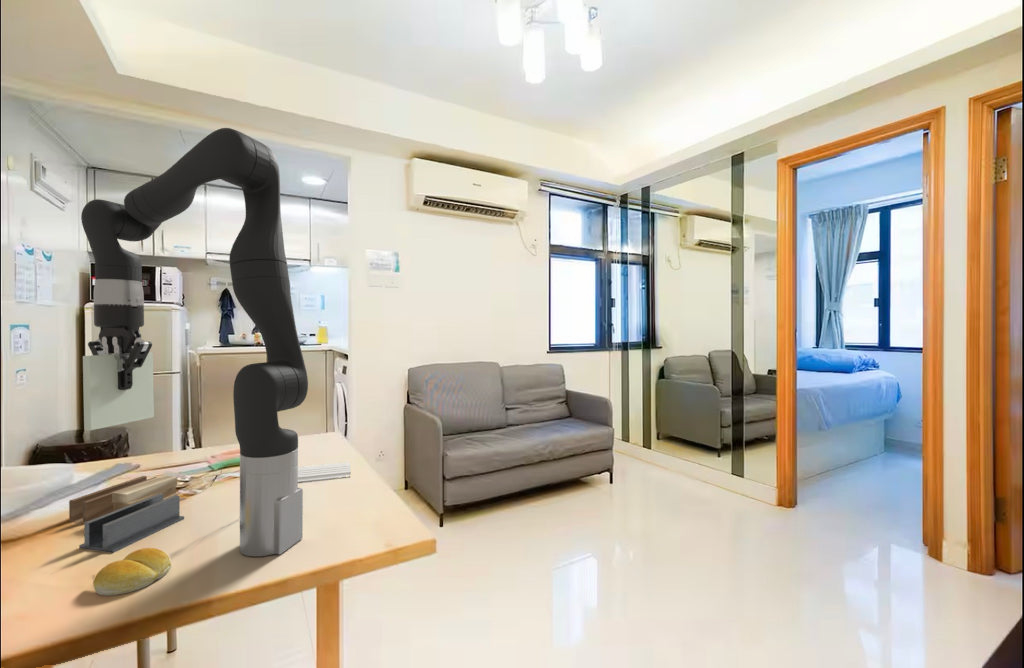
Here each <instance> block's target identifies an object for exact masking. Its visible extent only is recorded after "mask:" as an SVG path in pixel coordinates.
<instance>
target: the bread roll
mask: <svg viewBox="0 0 1024 668" xmlns="http://www.w3.org/2000/svg"><path fill="white" fill-rule="evenodd" d="M171 568H172V562H171V559H170V557H169V555H168V554H167V553H166V552H165V551H164V550H162V549H158V548H155V547H150V548H149V547H146V548H140V549H137V550H135V551H132V552H129V554H128V555H126V556H125V557H124V558H123V559H121V560H116V561H113V562H110V563H108V564H106V565H105V566H103V567H102V568H101V569H100V570H99V571H98V572H97V574H96V575H95V576H94V579H93V589H94V590H95V592H96V593H97V594H98V595H100V596H109V597H110V596H117V595H122V594H127V593H133V592H135V591H139V590H141V589H143V588H145V587H147V586H149V585H151V584H152V583H153V582H155V581H157V580H160V579H162V578H163V577H164V576H165V575H166V574H167V573H169V571H170V570H171Z"/></svg>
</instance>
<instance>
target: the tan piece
mask: <svg viewBox="0 0 1024 668" xmlns="http://www.w3.org/2000/svg"><path fill="white" fill-rule="evenodd" d="M156 477H157V478H154V479H151V478H150V479H151V480H148V479H147V480H148V481H145V482H142V483H139V484H136V485H133V486H131V487H128V488H125V489H122V490H119V491H116V492H113V493H112V502H113V511H116V510H118V509H121V508H123V507H126V506H129V505H131V504H134V503H136V502H139V501H141V500H144V499H146V498H149V497H152V496H154V495H157V494H163V500H165V499H167V498H170V497H172V496H175V495H178V493H177V485H178V477H177V476H175V475H174V476H172V475H165V474H164V475H160V476H156Z"/></svg>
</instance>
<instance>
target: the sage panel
mask: <svg viewBox="0 0 1024 668" xmlns="http://www.w3.org/2000/svg"><path fill="white" fill-rule="evenodd" d="M122 355H129V354H122ZM126 361H127V359H125V363H126ZM136 361H137V359H136V360H135V362H136ZM118 372H120V371H118V364H117V360H116V359H115V358H114V354H110V355H93V354H92V355H83V356H82V375H83V376H82V382H83V383H82V384H83V385H82V386H83V387H82V389H83V391H82V392H83V425H84V426H83V427H84V428H83V429H84V431H94V430H99V429H103V428H109V427H113V426H119V425H123V424H129V423H134V422H137V421H138V422H139V421H143V420H146V419H152V418H155V401H154V400H155V396H154V395H155V394H154V390H155V389H154V352H152V351H151V352H150V351H149V353H148V355H147V357H146V359H145V361H144V363H143V365H142V367H138V368H135V369H134V370H133V371H132V379H133V384H132V388H131V389H127V390H119V389H118Z"/></svg>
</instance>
